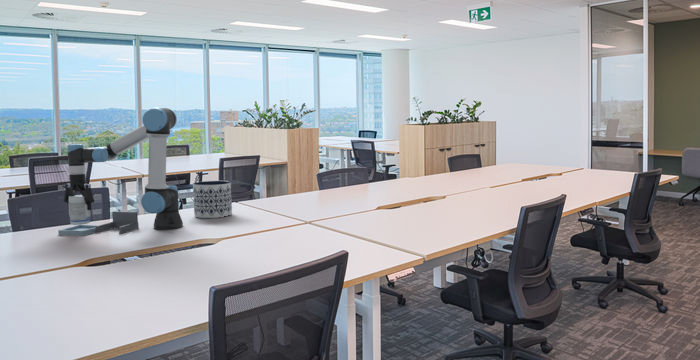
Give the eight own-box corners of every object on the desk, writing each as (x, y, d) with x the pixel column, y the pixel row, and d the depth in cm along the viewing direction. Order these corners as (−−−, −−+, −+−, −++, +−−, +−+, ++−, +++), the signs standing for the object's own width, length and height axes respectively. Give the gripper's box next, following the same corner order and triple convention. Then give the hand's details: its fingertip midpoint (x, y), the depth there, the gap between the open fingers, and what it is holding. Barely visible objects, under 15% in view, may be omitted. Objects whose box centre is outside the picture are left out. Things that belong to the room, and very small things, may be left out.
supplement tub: (91, 224, 279) (89, 196, 278) (71, 226, 274) (69, 197, 272) (89, 221, 287) (87, 194, 286) (69, 223, 282) (67, 195, 280)
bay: (114, 227, 294) (113, 211, 293) (138, 228, 290) (137, 212, 289) (96, 232, 280) (94, 215, 279) (121, 233, 276) (120, 216, 275)
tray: (103, 230, 287) (103, 225, 286) (83, 236, 272) (82, 231, 272) (80, 229, 290) (79, 224, 290) (58, 234, 276) (58, 230, 276)
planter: (227, 218, 315) (225, 184, 313) (189, 219, 315) (187, 185, 313) (235, 212, 337) (234, 180, 335) (200, 212, 337) (199, 180, 335)
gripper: (100, 173, 278) (102, 215, 281) (64, 172, 284) (67, 213, 287) (90, 174, 271) (92, 217, 274) (53, 173, 277) (56, 216, 279)
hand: (80, 215), depth 280 cm, fingers closed on supplement tub, 10 cm apart
